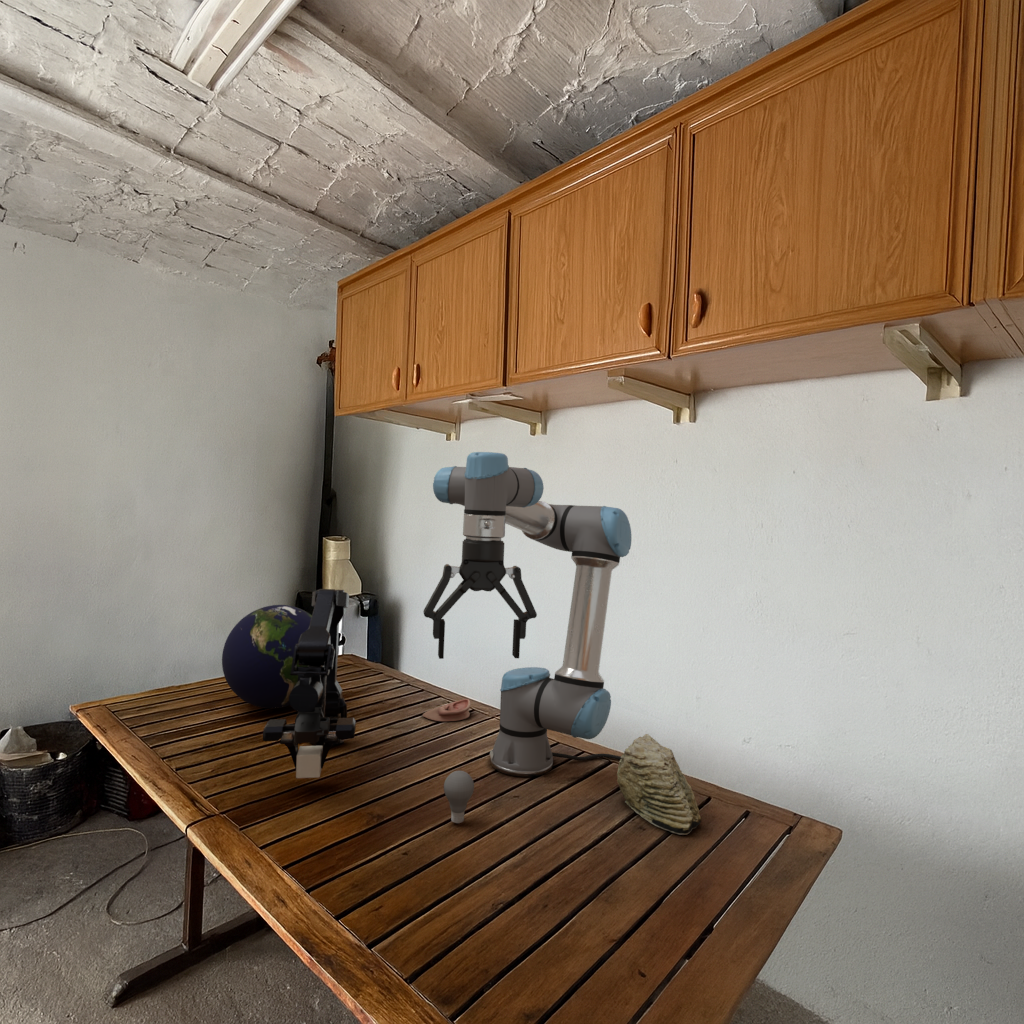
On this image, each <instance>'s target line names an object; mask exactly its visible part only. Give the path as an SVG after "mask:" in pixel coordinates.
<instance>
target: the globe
mask: <svg viewBox="0 0 1024 1024" xmlns="http://www.w3.org/2000/svg"><path fill="white" fill-rule="evenodd" d="M311 618H312V614H311V613H310V612H308V611H305V610H304V609H302V608H299V607H297V606H292V605H290V604H289V605H288V604H272V605H266V606H263V607H260V608H257V609H255V610H253V611H251V612H250V613H248V614H246V615H245V616H243V618H241V619H240V620H239V621H238V622H237V623H235V625H234V627H232V629H231V631H230V632H229V634H228V635H227V637H226V640H225V642H224V645H223V649H222V654H221V666H222V672H223V676H224V678H225V679H224V680H225V681H226V683H227V685H228V687H229V688H230V689H231V691H232V692H233V693H234V694H235V695H236V696H237V697H238V698H239V699H240V700H242V701H244V702H245V703H247V704H248V705H251V706H254V707H258V708H262V709H282V708H285V707H289V706H290V707H291V705H290V703H289V695H290V693H291V691H292V689H293V688H294V686H295V685H296V683H297V681H298V675H290V674H291V667H292V661H293V655H294V649H295V645H296V644H298V642H299V639H300V636H301V634H302V633H304V632H305V631H306V630H308V629H309V626H310V622H311ZM298 662H299V661H298ZM298 662H297V667H308V666H300V665H299V664H298ZM297 667H296V669H297Z"/></svg>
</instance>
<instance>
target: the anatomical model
mask: <svg viewBox="0 0 1024 1024" xmlns="http://www.w3.org/2000/svg"><path fill="white" fill-rule="evenodd" d="M470 708H471V700H470V699H468V698H464V699H459V700H456V701H452V702H450V703H447V704H444V705H441V706H438V707H434V708H431V709H428V710H427V711H425V712H424V713H422V717H423V718H426V719H428V720H431V721H435V722H455V721H456V722H457V721H461V720H462V721H463V720H466V719H468V718H469V717H470V715H471V714H470V711H469V710H470Z"/></svg>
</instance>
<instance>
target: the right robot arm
mask: <svg viewBox="0 0 1024 1024" xmlns="http://www.w3.org/2000/svg"><path fill="white" fill-rule="evenodd" d="M432 491H433V494H434V497H435V498H436V499H437V500H438V501H439V502H440V503H443V504H449V505H453V504H454V505H459V506H463V507H464V509H463V522H462V535H463V537H465V538H464V539H463V540H462V545H461V546H462V548H461V563H460V565H459V566H455V565H450V564H449V563H446V564H444V566H443V570H442V576H441V578H440V579H439V582H438V583H437V585H436V587H435V589H434V591H433V593H432V594H431V596H430V598H429V600H428V602H427V603H426V605H425V607H424V609H423V611H422V612H423V616H424V617H425V618H428V619H431V620H432V636H433V639H434V640H438V646H437V647H438V648H437V657H438V659H440V660H443V659H444V656H445V655H444V654H445V632H446V621H445V619H444V616H445V615H446V614H447V613H448V612H449V611H450V610H451V609H452V608H453V606H455V605H456V604H457V602H458V601H459V600H460V599H461V598H462V597H463V596H464V594H466V593H467V592H468V591H469V590H471V591H473V592H481V591H484V592H492V591H493V590H496V591H497V593H498V594H499V595H500V596H501V598H502V599H503V600H504V602H505V603H506V604H507V605H508V607H509V609H511V611H512V612H513V613H514V615H515V616H516V617H517V619H515V618H514V619H513V628H512V652H511V655H512V656H513V658H514V659H520V653H521V652H520V650H521V640H525V639H526V636H527V622H528V621H529V620H531V619H536V618H537V617H538V616H537V615H538V614H537V611H536V609H535V607H534V605H533V602H532V600H531V597H530V595H529V593H528V591H527V588H526V586H525V584H524V581H523V580H522V569H521V568H520V567H519V566H517V565H513V566H512V567H505V564H504V563H505V560H504V559H505V542H504V541H503V540H502V539H503V538H505V536H506V525H507V526H511V527H513V528H516V529H517V530H520V531H521V532H522V534H523V535H524V536H525V537H527V538H528V539H530V540H533V541H535V542H537V543H539V544H542V545H544V546H547V547H549V548H552V549H554V550H559V551H562V552H569V553H571V556H570V557H571V558H570V559H571V560H572V562H573V563H574V564H575V574H574V582H573V589H572V594H571V595H572V596H571V600H570V601H571V603H570V609H569V617H568V622H567V623H568V624H567V631H566V639H565V645H564V652H563V659H562V665H561V667H559V668H558V669H557V670H555V672H554V677H553V678H552V677H550V676H551V673H550V670H549V669H548V668H545V667H538V666H531V667H528V666H527V667H520V668H519V667H518V668H513V669H510V670H507V671H506V672H505V673H504V674H503V675H502V678H501V685H500V689H499V691H500V706H499V729H498V734H497V737H496V739H495V742H494V745H493V748H492V749H490V751H489V757H490V766H491V767H492V768H493V769H494V770H496V771H497V772H500V773H501V774H504V775H508V776H513V777H521V778H522V777H523V778H529V777H531V778H532V777H538V776H542V775H545V774H547V773H549V772H550V771H551V770H552V769H553V767H554V757H555V758H562V759H568V760H573V761H579V762H581V761H582V762H583V761H589V760H593V759H598V758H599V759H601V758H606V759H612V760H617V761H620V759H622V758H621V756H622V755H616V754H611V753H594V754H590V755H586V756H585V755H584V756H576V755H571V754H566V753H560V752H553V751H552V748H551V745H550V741H549V736H548V730H549V731H553V732H556V733H561V734H565V735H568V736H571V737H572V738H574V739H575V738H579V739H584V740H592V739H595V738H596V737H597V736H598V735H600V733H601V732H602V731H603V729H604V728H605V726H606V724H607V721H608V719H609V716H610V712H611V706H612V696H611V693H610V691H609V690H607V689H606V688H604V685H605V679H604V677H603V676H602V675H601V673H600V667H601V659H602V651H603V644H604V643H603V642H604V635H605V628H606V620H607V612H608V605H609V598H610V589H611V581H612V573H613V570H615V569H616V568H617V567H619V566H620V563H621V562H620V561H621V558H624V557H626V556H628V555H629V553H630V550H631V547H632V528H631V524H630V520H629V517H628V515H627V514H626V513H625V511H624V510H622V509H621V508H619V507H613V506H612V507H611V506H606V505H602V506H601V505H576V504H575V505H574V504H552V503H548V502H546V501H543V500H541V499H542V496H543V494H544V481H543V479H542V477H541V475H540V474H539V473H538V472H537V471H535V470H533V469H529V468H527V467H515V466H510V465H509V458H508V456H507V455H506V453H502V452H491V451H473V452H470V453H469V454H468V455H467V456H466V464H465V466H456V465H454V466H445V467H442V468H440V469H439V470H437V472H436V473H435V475H434V477H433V482H432ZM456 574H459V576H460V577H461V579H462V580H461V582H460V583H459V584H458V585H457V587H456V588H455V589H454V590H453V591H452V593H451V594H450V595H449V596H448V597H447V598H446V599H445V600H444V601H443V603H442V604H441V605H440V606H439V607H438V608H437V610H435V609H436V607H437V605H438V603H439V601H440V599H441V597H442V596H443V594H444V592H445V590H446V588H447V586H448V584H449V583H450V580H451V579H453V578H455V576H456ZM506 575H508V578H509V579H511V580H512V582H513V583H514V586H515V589H516V590H517V593H518V594H519V597H520V600H521V602H522V604H523V606H524V609H525V611H523V610H522V608H521V607H520V606H519V605H518V604H517V602H516V601H515V600H514V598H513V597H512V596H511V595H510V593H509V592H508V591H507V589H506V588H505V587H504V585H503V584H502V583H501V581H502V580H503V578H505V576H506Z"/></svg>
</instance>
